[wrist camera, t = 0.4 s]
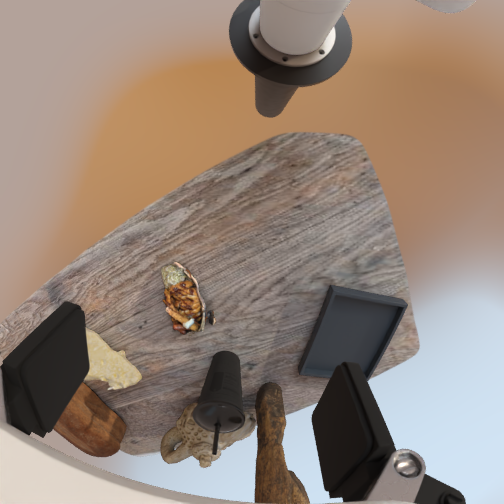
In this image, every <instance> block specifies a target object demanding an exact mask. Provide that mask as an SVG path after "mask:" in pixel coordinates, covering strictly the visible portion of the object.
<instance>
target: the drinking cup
mask: <svg viewBox="0 0 504 504" xmlns="http://www.w3.org/2000/svg"><path fill="white" fill-rule="evenodd" d="M192 416H193V419H194V421H195V423H196V424H197V425H198V426H200V427H201V428H203V429H205V430H207V431H210V432H214V440H213V448H212V454H213V455H217V449H218V441H219V433H231V432H235V431H237V430H239V429H240V428H242V427H243V425H244V424H245V414H244V412H243V401H242V387H241V373H240V360H239V358H238V356H237V355H236V354H234V353H232V352H229V351H221V352H218V353H217V354H215V355H214V357H213V360H212V363H211V365H210V368H209V371H208V374H207V377H206V380H205V383H204V386H203V389H202V392H201V395H200V397H199V400H198V403H197V406H196V407H195V408H194V410H193V413H192Z"/></svg>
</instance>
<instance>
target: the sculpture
mask: <svg viewBox="0 0 504 504" xmlns="http://www.w3.org/2000/svg"><path fill="white" fill-rule="evenodd" d="M255 409H256V418H257V426H258V428H257V438H258V450H257V458H256V475H255V503H265V504H310V502H309V498H308V496H307V493H306V491H305V488H304V486H303V484H302V483H301V481H300V480H299V479H298V478H297V477H296V475H295V473H294V472H292V471H289V470H288V469H287V466H286V462H285V457H284V451H283V446H282V444H281V443H282V440H283V435H284V429H285V426H286V419H285V412H284V405H283V398H282V390H281V387H280V386H279V385H278V384H275V383H272V382H269V383H265V384H264V385H263V386H262V387H261V388H260V389H259V391H258V393H257V398H256V404H255Z"/></svg>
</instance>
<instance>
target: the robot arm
mask: <svg viewBox="0 0 504 504" xmlns="http://www.w3.org/2000/svg"><path fill="white" fill-rule="evenodd" d="M350 1H351V0H260V6H259V7H258V8H256V10H255V11H254V12H253V14H252V16H251V18H250V21H249V35H250V39H251V41H252V43H253V45H254V46H255V48H256V49H257V51H259V52H260V53H261V54H262V55H263V56H264V57H266V58H267V59H269V60H271V61H273V62H275V63H277V64H281V65H284V66H290V67H303V66H308V65H312V64H314V63H317V62H319V61H320V60H322V59H323V58H324V57H325V56H326V55H327V54H328V53H329V52H330V51H331V49H332V47H333V45H334V42H335V28H334V25H335V24H336V22H337V21H338V19H339V18H340V16H341V15H342V13H343V12H344V10H345V9H346V7H347V6H348V4H349V3H350ZM417 1H418V2H421V3H422V4H424V5H426V6H428V7H430V8H432V9H435V10H438V11H441V12H444V13H456V12H460V11H463V10H465V9H467V8H468V7H470V6H471V5H472V4H473V3H474V2H475V1H476V0H417ZM255 37H257V39H255ZM319 53H322V55H321V54H319ZM284 59H285V60H286V62H284V61H283V60H284ZM89 369H90V363H89V355H88V347H87V337H86V326H85V314H84V311H82V310H81V307H80V306H79V305H77V304H74V303H71V302H68V301H66V302H64V303H63V304H62V305H61V306H60V307H59V308H58V309H56V310H55V311H54V312H53V313H52V314H51V315H50V316H49V317H48V318H47V319H45V320H44V321H43V322H42V323H41V324H40V325H39V326H38V327H37V328H36V329H35V330H34V331H33V332H32V333H31V334H29V335H28V336H27V337H26V338H25V339H24V340H23V341H22V342H21V343H20V344H19V345H18V346H17V347H16V348H15V349H14V350H13V351H12V352H11V353H10V354H9V355H8V356H7V357H6V358H5V359H4V360H3V364H2V365H1V366H0V504H265V503H249V502H239V501H229V500H222V499H214V498H208V497H202V496H196V495H191V494H186V493H181V492H176V491H172V490H168V489H163V488H159V487H156V486H152V485H148V484H144V483H141V482H138V481H134V480H131V479H128V478H125V477H122V476H118V475H116V474H113V473H110V472H107V471H105V470H102V469H99V468H97V467H94V466H91V465H89V464H87V463H84V462H82V461H80V460H77V459H75V458H73V457H71V456H68V455H66V454H64V453H62V452H60V451H58V450H56V449H54V448H52V447H50V446H48V445H46V444H44V443H42V442H40V441H38V440H36V439H34V438H32V437H30V436H29V435H30V434H31V432H33V433H35V434H37V435H39V436H41V437H42V438H44V436H45V434H46V433H47V432H48V433H49V432H51V431H52V429H53V428H54V426H55V425H56V423H57V421H58V420H59V418H60V416H61V415H62V413H63V412H64V410H65V408H66V407H67V405H68V404H69V402H70V400H71V399H72V397H73V396H74V394H75V393H76V391H77V389H78V388H79V386H80V385H81V383H82V382H83V380H84V379H85V377H86V376H87V374H88V372H89ZM312 425H313V430H314V435H315V440H316V446H317V451H318V456H319V462H320V467H321V473H322V478H323V484H324V489H325V490H326V491H329V495H330V498H340V497H342V498H343V502H342V503H327V504H466V502H465V498H464V496H463V495H462V494H461V492H460V491H458V490H456V489H454V488H452V487H450V486H448V485H446V484H444V483H442V482H440V481H438V480H436V479H434V478H432V477H430V476H428V475H427V474H425V470H426V466H425V462H424V460H423V458H422V457H421V456H420V455H419V454H417V453H416V452H414V451H412V450H409V449H400V450H397V451H396V448H395V446H394V442H393V440H392V437H391V435H390V433H389V430H388V428H387V426H386V423H385V421H384V418H383V416H382V414H381V411H380V409H379V407H378V405H377V402H376V400H375V398H374V396H373V394H372V391H371V389H370V387H369V384H368V382H367V380H366V378H365V375H364V373H363V371H362V369H361V367H360V365H359V363H354V362H342V363H341V365H337V366H336V368H335V370H334V372H333V374H332V376H331V378H330V380H329V382H328V384H327V386H326V388H325V390H324V392H323V394H322V396H321V398H320V400H319V402H318V404H317V406H316V408H315V410H314V411H313V414H312Z"/></svg>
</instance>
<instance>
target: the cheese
mask: <svg viewBox="0 0 504 504" xmlns="http://www.w3.org/2000/svg"><path fill="white" fill-rule="evenodd" d="M86 337H87V347H88V355H89V363H90V369H89V372H88V374H87V376H86V377H85V379H84V380H87V381H90V380H96V379H98V380H101V381H106V382H108V383H109V386H110V387H111V388H108V390H110V389H114V390H116V389H122V388H127V387H129V386H131V385H136V384H137V382H138V381H140V380H141V379H142V376H141V374H140V372H139V371H138V370H137V368H136V367H135V366H133V365H132V364H131V363H130V362H129V361H128V360H127V358H126V355H125V351H123V350H122V351H119V352H116V351H113V350H112V349H111V348H110V347H109V346H108V344H107V343H106V342H104V341H103V339H102V338H100V336H99V334H97V333H95V332H94V331H93V330H89V329H88V328H87V327H86Z"/></svg>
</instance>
